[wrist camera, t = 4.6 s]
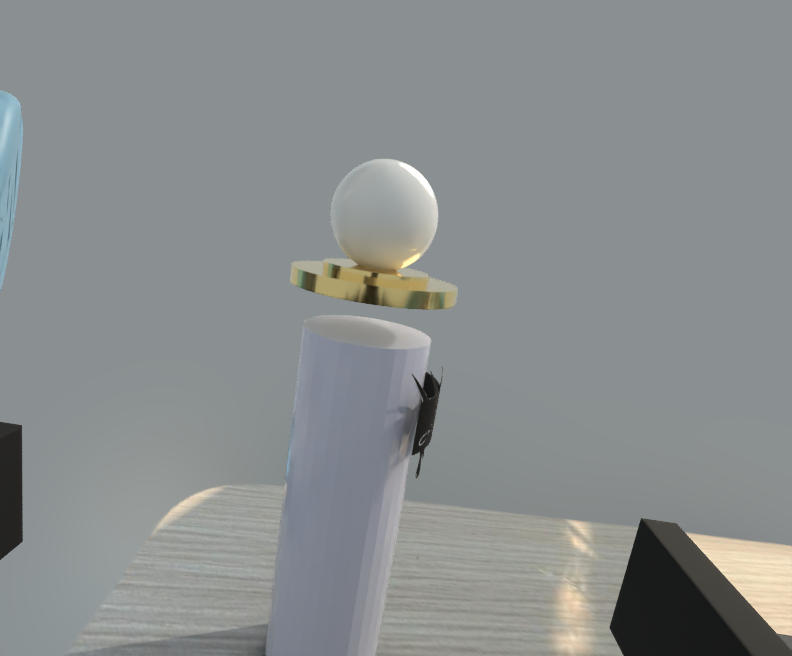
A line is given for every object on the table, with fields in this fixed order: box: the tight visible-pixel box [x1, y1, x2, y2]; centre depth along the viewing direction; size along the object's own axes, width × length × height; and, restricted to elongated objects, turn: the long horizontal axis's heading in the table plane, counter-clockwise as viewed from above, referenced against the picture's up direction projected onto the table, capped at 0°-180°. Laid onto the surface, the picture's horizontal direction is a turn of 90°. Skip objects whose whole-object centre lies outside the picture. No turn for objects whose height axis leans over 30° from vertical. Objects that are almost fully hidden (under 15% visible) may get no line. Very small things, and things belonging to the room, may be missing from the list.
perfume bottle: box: [265, 159, 458, 656], centre depth 18 cm, size 6×6×20 cm
